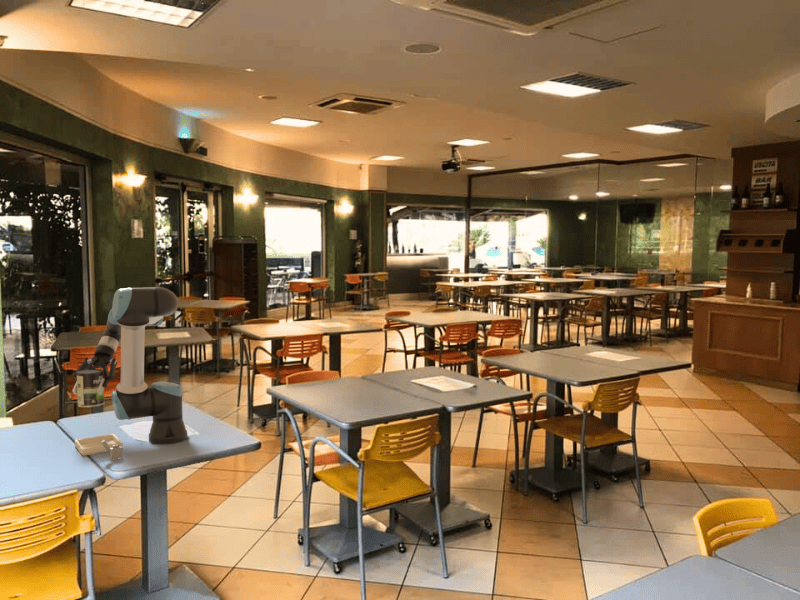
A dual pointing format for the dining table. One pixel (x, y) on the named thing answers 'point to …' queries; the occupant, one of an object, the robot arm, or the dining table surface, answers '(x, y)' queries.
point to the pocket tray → (96, 444)
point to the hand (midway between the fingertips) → (86, 393)
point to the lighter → (113, 450)
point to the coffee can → (89, 388)
